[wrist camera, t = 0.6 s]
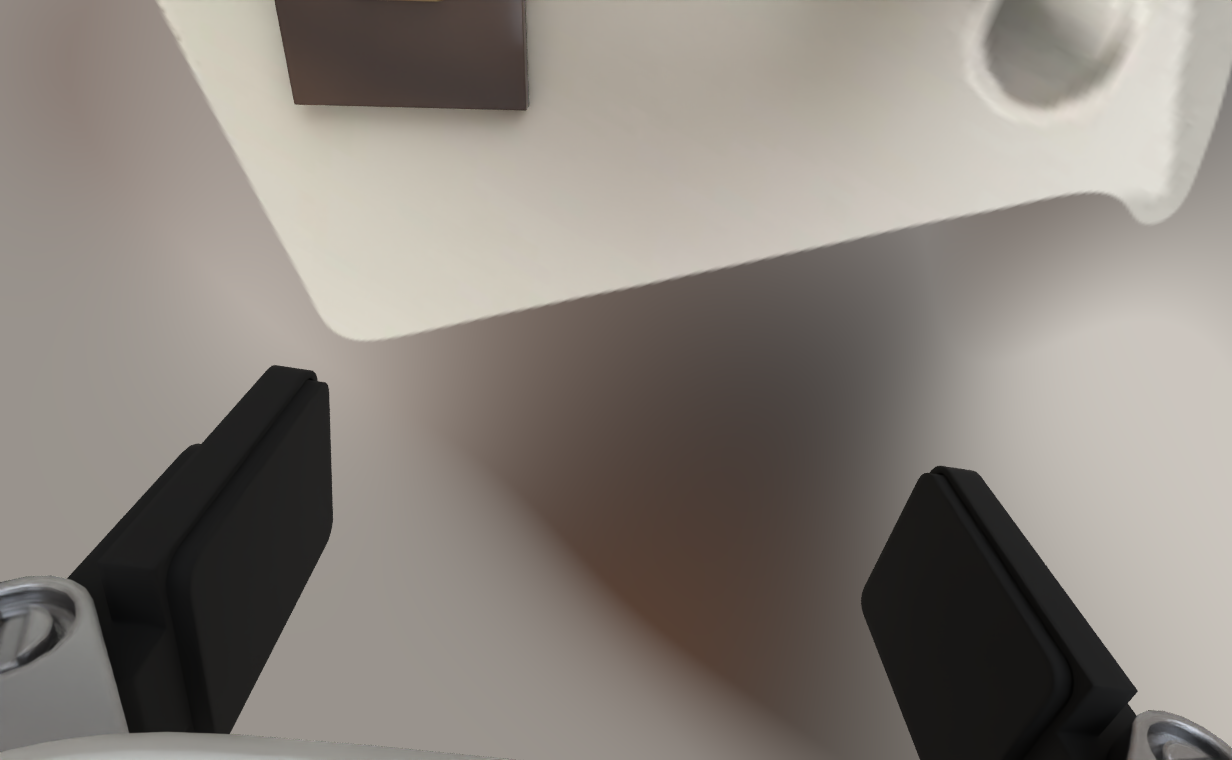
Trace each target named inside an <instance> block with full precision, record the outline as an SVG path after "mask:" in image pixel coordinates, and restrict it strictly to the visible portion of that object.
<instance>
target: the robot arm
mask: <svg viewBox="0 0 1232 760" xmlns="http://www.w3.org/2000/svg"><path fill="white" fill-rule="evenodd" d="M331 474H332V473H331V440H330V408H329V389H328V385H327V384H326V383H325V382H318V381H317V376H316V374H315V373H314V372H313V371H310V370H304V369H297V368H291V367H284V366H277V365H274V366H271V367H270V368H269V369H268V370H267V371H266V372H265V373H264V374H263V375H262V376H261V378H260V379H259V380H258V381H257V382H256V383H255V384H254V385H253V387H252V388H251V389H250V390H249V391H248V392H247V393H246V394H245V396H244V397H243V398H242V399H241V400H240V401H239V402H238V403H237V405H236V406H235V407H234V408H233V409H232V410H231V411H230V413H229V414H228V415H227V416H226V417H225V418H224V419H223V420H222V421H221V423H220V424H219V425H218V426H217V427H216V428H215V430H214V431H213V432H212V433H211V434H210V435H209V436H208V437H207V438H206V439H205V441H204V442H203V443H202V444H194V445H191V446H189V447H188V448H187V449H186V450H185V451H183V452H182V453H181V454H180V455H179V457H178V458H177V459H176V460H175V461H174V462H173V463H172V464H171V465H170V466H169V467H168V469H167V470H166V471H165V472H164V473H163V474H162V475H161V476H160V477H159V478H158V480H157V481H156V482H155V483H154V484H153V485H152V486H151V487H150V488H149V489H148V491H147V492H146V493H145V494H144V495H143V496H142V497H141V498H140V499H139V500H138V501H137V503H136V504H135V505H134V506H133V507H132V508H131V509H130V510H129V511H128V513H126V515H125V516H124V517H123V518H122V519H121V520H120V521H119V522H118V523H117V524H116V526H115V527H114V528H113V529H112V530H111V531H110V532H109V533H108V534H107V536H106V537H105V538H104V539H103V540H102V541H101V542H100V543H99V544H98V545H97V547H95V549H94V550H93V551H92V552H91V553H90V554H89V555H88V556H87V557H86V558H85V560H84V561H83V562H82V563H81V564H80V565H79V566H78V567H77V568H76V569H75V570H74V572H73V573H72V574H71V575H70V576H69V577H68V578H67V579H65V578H60V577H55V576H30V577H23V578H18V579H13V580H8V581H4V582H0V760H513V759H504V758H494V757H484V756H483V757H482V756H473V755H463V754H453V753H443V752H433V751H423V750H413V749H403V748H393V747H383V746H372V745H361V744H348V743H336V742H324V741H311V740H300V739H288V738H276V737H264V736H251V735H239V734H230V732H231V730H232V728H233V726H234V724H235V722H236V720H237V718H238V717H239V715H240V713H241V711H242V709H243V707H244V705H245V703H246V701H247V699H248V697H249V695H250V693H251V691H252V689H253V687H254V685H255V683H256V681H257V679H258V677H259V675H260V673H261V672H262V670H263V667H264V666H265V664H266V662H267V660H268V658H269V656H270V654H271V652H272V650H273V648H274V646H275V644H276V642H277V640H278V638H279V636H280V634H281V632H282V630H283V628H284V626H285V625H286V623H287V621H288V619H289V616H290V615H291V613H292V611H293V609H294V607H295V605H296V603H297V601H298V599H299V597H300V595H301V593H302V591H303V589H304V587H305V585H306V583H307V581H308V579H309V577H310V576H311V573H312V571H313V569H314V568H315V566H316V564H317V562H318V560H319V558H320V556H321V554H322V552H323V550H324V548H325V546H326V544H327V542H328V540H329V536H330V533H331V529H332V523H333V509H332V508H333V507H332V475H331ZM861 605H862V611H863V614H864V617H865V619H866V622H867V625H868V627H869V630H870V632H871V635H872V637H873V640H874V642H875V645H876V648H877V650H878V653H879V655H880V658H881V660H882V663H883V665H884V668H885V671H886V673H887V676H888V678H889V681H890V683H891V686H892V688H893V691H894V694H895V696H896V699H897V702H898V704H899V707H900V709H901V712H902V714H903V717H904V719H905V722H906V724H907V727H908V730H909V732H910V735H911V737H912V740H913V743H914V745H915V747H916V750H917V753H918V756H919V758H920V760H1232V748H1231V747H1230V746H1229V745H1228V744H1226V743H1225V742H1224V741H1223V740H1221V739H1220V738H1218V737H1217V736H1215V735H1214V734H1212V733H1211V732H1210V731H1208V730H1207V729H1205V728H1204V727H1202V726H1200V725H1198V724H1196V723H1194V722H1192V721H1190V720H1188V719H1186V718H1184V717H1182V716H1179V715H1175V714H1172V713H1168V712H1165V711H1152V710H1148V711H1146V712H1143V713H1141V714H1139V715H1137V716H1136V715H1135V713H1134V712H1133V710H1132V709H1131V707H1130V706H1129V705H1128V702H1129V701H1130V700H1131V699H1132V697H1133V696H1134V695H1135V694H1136V693H1137V689H1136V688H1135V686H1134V685H1133V684H1132V682H1131V681H1130V680H1129V678H1128V677H1127V676H1126V674H1125V673H1124V671H1123V670H1122V669H1121V667H1120V666H1119V665H1118V663H1117V662H1116V660H1115V659H1114V658H1113V656H1112V655H1111V654H1110V652H1109V651H1108V650H1107V648H1106V647H1105V646H1104V644H1103V643H1102V642H1101V640H1100V639H1099V637H1098V636H1097V635H1096V633H1095V632H1094V631H1093V629H1092V628H1091V626H1090V625H1089V624H1088V622H1087V621H1086V619H1085V618H1084V617H1083V615H1082V614H1081V613H1080V611H1079V610H1078V609H1077V607H1076V606H1075V604H1074V603H1073V602H1072V600H1071V599H1070V598H1069V596H1068V595H1067V594H1066V592H1065V591H1064V589H1063V588H1062V587H1061V586H1060V584H1059V583H1058V581H1057V580H1056V579H1055V577H1054V576H1053V574H1052V573H1051V572H1050V570H1049V569H1048V568H1047V566H1046V565H1045V564H1044V562H1043V561H1042V559H1041V558H1040V557H1039V555H1038V554H1037V553H1036V551H1035V550H1034V548H1033V547H1032V546H1031V545H1030V543H1029V542H1028V540H1027V539H1026V538H1025V536H1024V535H1023V533H1022V532H1021V531H1020V529H1019V528H1018V527H1017V525H1016V524H1015V522H1014V521H1013V520H1012V518H1011V517H1010V516H1009V514H1008V513H1007V512H1006V510H1005V509H1004V507H1003V506H1002V505H1001V504H1000V502H999V501H998V500H997V498H996V497H995V495H994V494H993V493H992V491H991V490H990V488H989V487H988V486H987V484H986V483H985V482H984V480H983V479H982V477H981V476H980V475H979V474H978V473H977V472H975V471H971V470H965V469H958V468H951V467H945V466H937V467H935V468H934V469H933V470H931V472H930V473H924V474H923V475H921V476H920V478H919V479H918V481H917V483H916V485H915V487H914V489H913V491H912V493H911V495H910V497H909V499H908V501H907V503H906V505H905V507H904V509H903V511H902V513H901V515H900V517H899V519H898V521H897V523H896V525H895V527H894V529H893V531H892V533H891V535H890V537H889V539H888V541H887V543H886V545H885V547H884V549H883V551H882V553H881V555H880V557H879V559H878V561H877V563H876V565H875V567H874V569H873V571H872V573H871V575H870V577H869V579H868V581H867V583H866V585H865V587H864V589H863V592H862V597H861Z"/></svg>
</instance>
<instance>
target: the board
mask: <svg viewBox="0 0 1232 760" xmlns="http://www.w3.org/2000/svg"><path fill="white" fill-rule="evenodd" d="M275 5H276V10H277V15H278V20H279V26H280V31H281V36H282V41H283V46H284V52H285V57H286V62H287V67H288V73H289V78H290V83H291V88H292V93H293V99H294V103H295V104H298V105H337V106H376V107H415V108H454V109H493V110H527V108H528V107H529V89H528V60H527V32H526V4H525V0H442V1H402V0H275Z"/></svg>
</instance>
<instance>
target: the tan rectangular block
mask: <svg viewBox="0 0 1232 760" xmlns="http://www.w3.org/2000/svg"><path fill="white" fill-rule="evenodd" d="M402 1H442V0H402Z"/></svg>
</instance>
